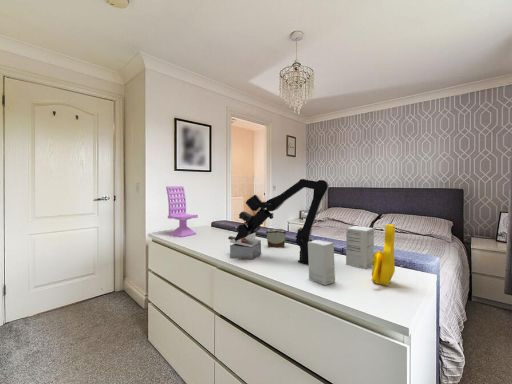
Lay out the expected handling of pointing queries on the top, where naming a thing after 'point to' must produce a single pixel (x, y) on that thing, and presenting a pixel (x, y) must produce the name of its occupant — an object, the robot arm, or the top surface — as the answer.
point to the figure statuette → (384, 259)
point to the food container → (276, 238)
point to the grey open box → (245, 251)
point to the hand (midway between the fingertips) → (239, 238)
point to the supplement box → (359, 246)
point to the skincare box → (321, 261)
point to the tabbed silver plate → (245, 241)
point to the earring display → (182, 217)
